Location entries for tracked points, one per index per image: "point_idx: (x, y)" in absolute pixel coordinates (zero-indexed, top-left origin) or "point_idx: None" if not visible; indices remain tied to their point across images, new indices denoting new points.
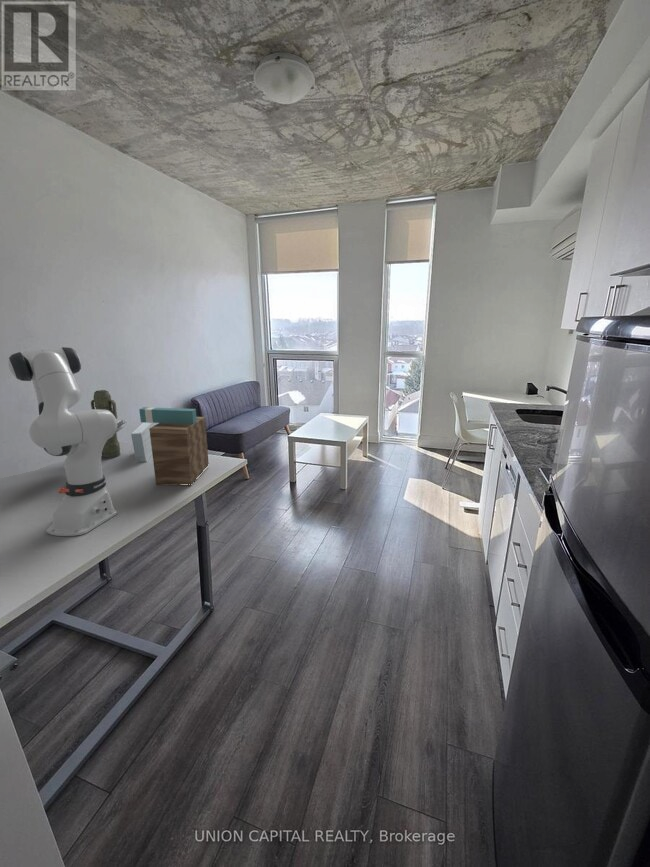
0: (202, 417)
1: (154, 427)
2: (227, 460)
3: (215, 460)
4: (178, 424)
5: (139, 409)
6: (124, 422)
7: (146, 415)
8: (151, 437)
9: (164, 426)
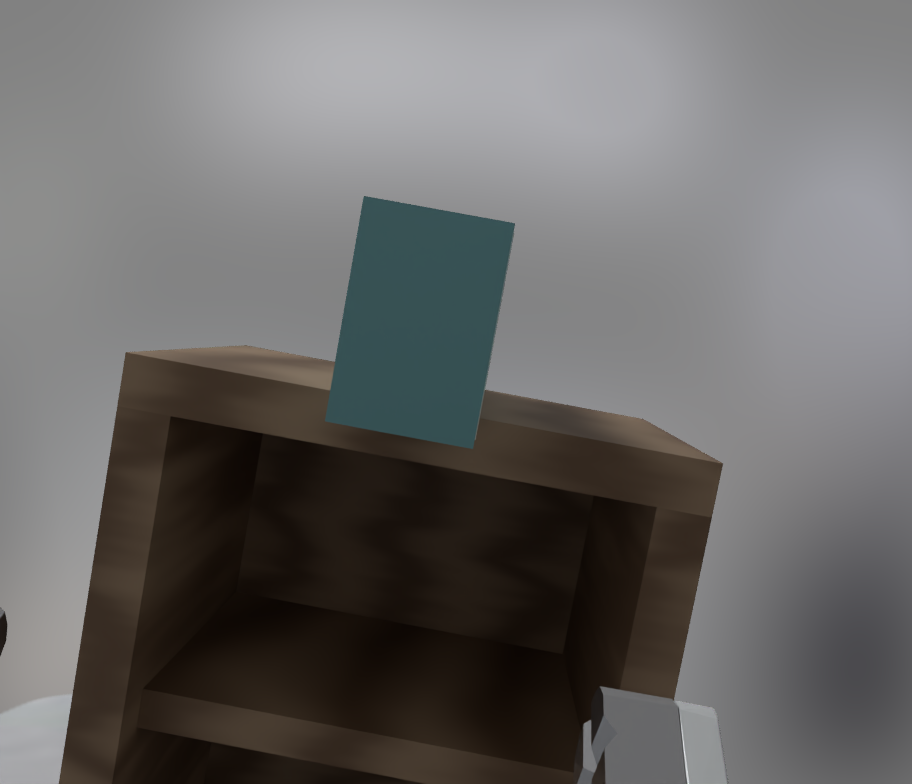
0: (259, 349)
1: (671, 449)
2: (51, 714)
3: (9, 763)
4: (510, 403)
5: (513, 227)
6: (2, 628)
7: (495, 328)
8: (697, 568)
9: (603, 429)
